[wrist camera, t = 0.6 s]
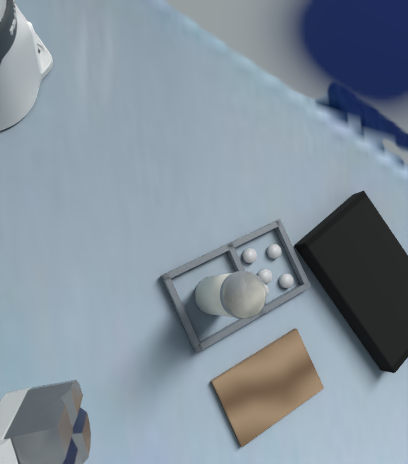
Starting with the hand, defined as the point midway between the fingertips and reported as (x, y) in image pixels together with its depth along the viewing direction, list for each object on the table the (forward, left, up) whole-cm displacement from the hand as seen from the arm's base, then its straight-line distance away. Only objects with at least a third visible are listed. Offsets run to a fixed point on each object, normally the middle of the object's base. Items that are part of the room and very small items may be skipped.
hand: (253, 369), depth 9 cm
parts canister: (+4, +13, -40) cm, 42 cm away
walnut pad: (+18, +15, -40) cm, 46 cm away
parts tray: (+4, +17, -40) cm, 43 cm away
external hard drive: (+13, +37, -40) cm, 56 cm away
